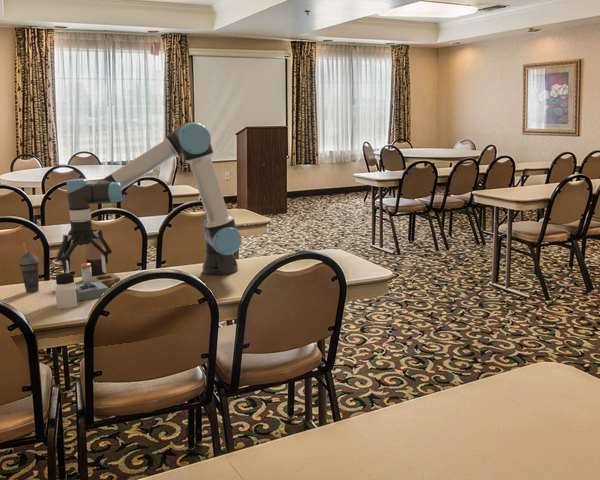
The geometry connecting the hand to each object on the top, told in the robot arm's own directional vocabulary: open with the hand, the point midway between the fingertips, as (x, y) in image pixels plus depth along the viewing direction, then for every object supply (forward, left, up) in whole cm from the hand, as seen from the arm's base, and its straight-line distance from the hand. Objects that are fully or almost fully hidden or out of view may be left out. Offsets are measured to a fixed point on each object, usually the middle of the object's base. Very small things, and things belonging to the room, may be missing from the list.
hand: (86, 275), depth 240 cm
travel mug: (-10, -24, -8) cm, 27 cm away
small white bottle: (0, 0, -8) cm, 8 cm away
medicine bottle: (+10, +10, -8) cm, 16 cm away
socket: (0, 0, -8) cm, 8 cm away
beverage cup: (+17, -19, -8) cm, 27 cm away
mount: (-9, -10, -8) cm, 16 cm away
